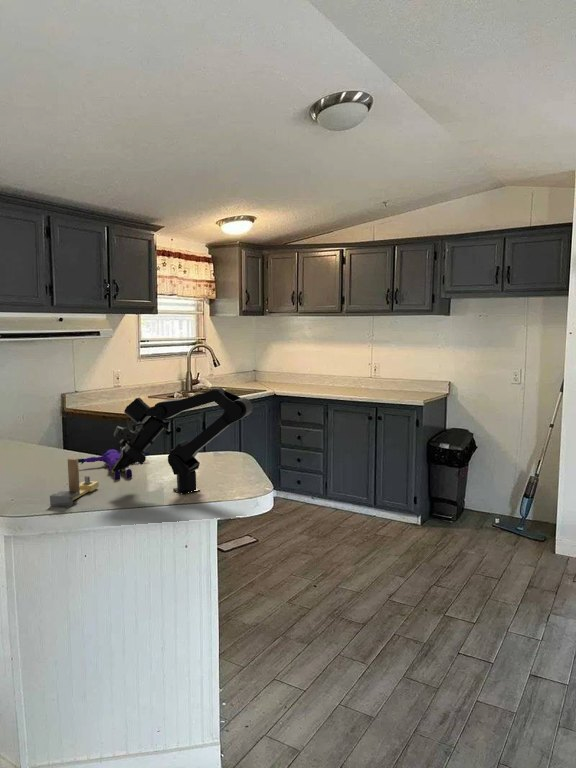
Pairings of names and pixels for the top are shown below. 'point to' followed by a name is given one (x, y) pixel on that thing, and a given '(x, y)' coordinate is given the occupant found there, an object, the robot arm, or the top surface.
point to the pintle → (87, 481)
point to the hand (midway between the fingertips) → (113, 471)
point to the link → (74, 479)
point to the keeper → (63, 498)
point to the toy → (111, 462)
